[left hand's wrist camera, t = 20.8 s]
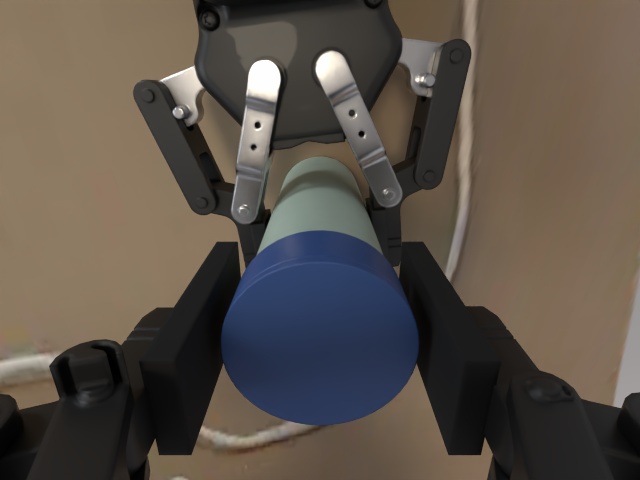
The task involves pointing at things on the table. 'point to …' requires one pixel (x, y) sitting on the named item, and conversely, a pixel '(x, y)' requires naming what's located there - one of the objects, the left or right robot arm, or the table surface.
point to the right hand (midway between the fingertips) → (326, 276)
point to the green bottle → (319, 203)
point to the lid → (319, 330)
